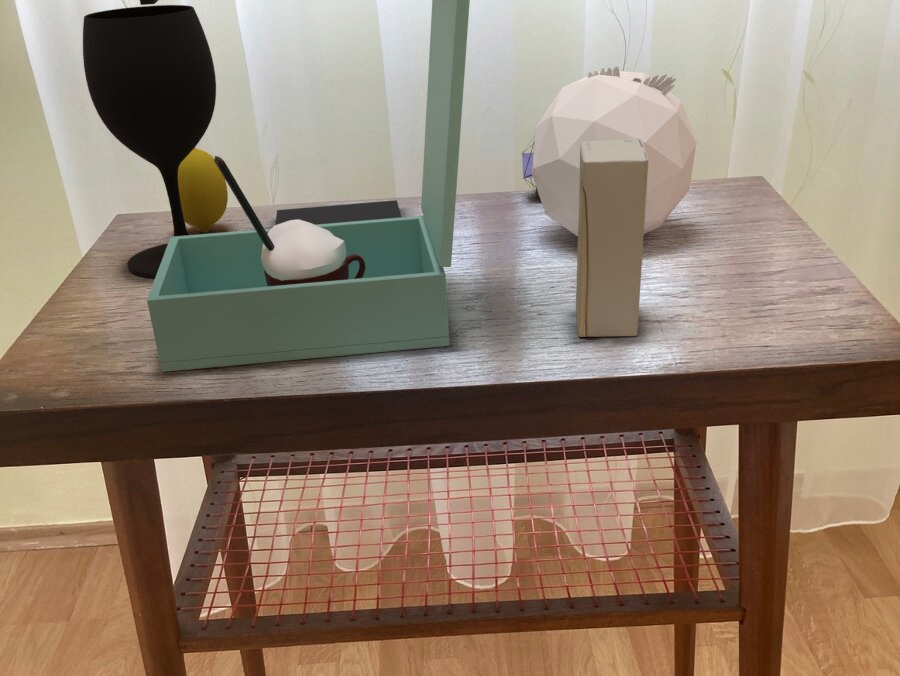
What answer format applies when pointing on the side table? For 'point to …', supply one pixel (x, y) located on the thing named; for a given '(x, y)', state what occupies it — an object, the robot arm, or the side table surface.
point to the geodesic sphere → (606, 118)
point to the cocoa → (296, 247)
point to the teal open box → (297, 299)
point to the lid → (444, 122)
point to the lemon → (201, 190)
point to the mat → (341, 213)
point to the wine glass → (152, 92)
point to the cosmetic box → (610, 236)
